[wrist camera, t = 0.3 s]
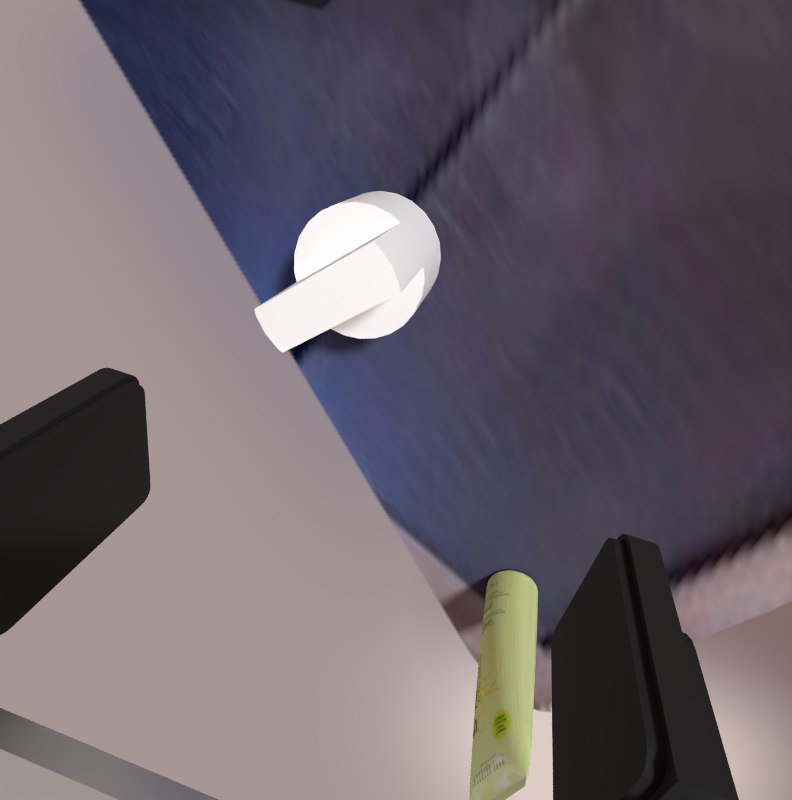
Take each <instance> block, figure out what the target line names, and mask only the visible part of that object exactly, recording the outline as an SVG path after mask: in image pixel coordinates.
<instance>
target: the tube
mask: <svg viewBox="0 0 792 800" xmlns="http://www.w3.org/2000/svg"><path fill="white" fill-rule="evenodd" d="M537 608H538V590H537V586H536V584H535V583H534V581H533V580H532V579H531V578H530V577H528V576H527V575H525V574H523V573H520V572H517V571H512V570H506V571H500V572H498V573H496V574H494V575H493V576H492V577H491V578H490V579H489V581H488V584H487V590H486V598H485V607H484V617H483V626H482V636H481V647H480V657H479V667H478V680H477V691H476V704H475V717H474V731H473V747H472V762H471V779H470V800H508V799H509V798H511V797H512V796H514V795H515V794H517V793H518V792H519V791H521V790H522V789H524V788H526V787H527V778H528V774H529V767H530V755H531V740H532V721H533V704H534V683H535V661H536V637H537Z"/></svg>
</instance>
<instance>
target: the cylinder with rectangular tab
mask: <svg viewBox="0 0 792 800" xmlns="http://www.w3.org/2000/svg"><path fill="white" fill-rule="evenodd" d="M440 260H441V254H440V242H439V239H438V236H437V234H436V231H435V228H434V226H433V224H432V223H431V221H430V220H429V218H428V217H427V215H426V214H425V212H424V211H423V210H422V209H420V208H419V207H418V206H417V205H416V204H415V203H414V202H412V201H411V200H409V199H407V198H405V197H403V196H401V195H399V194H396V193H390V192H384V191H377V192H368V193H364V194H361V195H359V196H356V197H354V198H351V199H348V200H346V201H343V202H340V203H338V204H335V205H333V206H331V207H329V208H326V209H324V210H322V211H320V212H319V213H318V214H317V215H316V216H315V217H314V218H312V219H311V220H310V221H309V222H308V223H307V225H306V227H305V228H304V230H303V231H302V233H301V235H300V236H299V239H298V243H297V246H296V250H295V254H294V273H295V277H296V283H294V284H293V285H291V286H290V287H288V288H287V289H285V290H283V291H282V292H280V293H279V294H277V295H276V296H274V297H272V298H271V299H269V300H268V301H266V302H265V303H263V304H261V305H260V306H258V307H257V308H255V309H254V310H255V314H256V317H257V319H258V321H259V323H260V325H261V326H262V329H263V331H264V332H265V334H266V335H267V336H268V338H269V339H270V340H271V341H272V343H273V344H274V345H275V346H276V348H277V349H278V350H280V351H281V352H282V353H283V352H285V351H287V350H289V349H291V348H293V347H295V346H297V345H299V344H301V343H303V342H305V341H307V340H309V339H311V338H313V337H315V336H317V335H319V334H321V333H323V332H325V331H327V330H329V329H332V330H334V331H336V332H338V333H340V334H342V335H345V336H349V337H354V338H358V339H370V338H378V337H381V336H385V335H388V334H391V333H392V332H394V331H396V330H397V329H399V328H400V327H402V326H403V325H404V324H405V323H406V322H407V321H408V320H409V319H410V317H411V316H412V315H413V314H414V313H415V311H416V310H417V308H418V307H419V306H420V304H421V303H422V301H423V300H424V298H425V297H426V295H427V294H428V292H429V291H430V290H431V288H432V286H433V284H434V282H435V280H436V278H437V275H438V272H439V266H440Z"/></svg>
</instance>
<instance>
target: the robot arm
mask: <svg viewBox="0 0 792 800" xmlns="http://www.w3.org/2000/svg"><path fill="white" fill-rule="evenodd" d="M149 491H150V471H149V456H148V439H147V423H146V407H145V392H144V389H143V387H142V386H140V385H139V381H138V380H137V378H136V377H134V376H132V375H130V374H126V373H123V372H120V371H117V370H114V369H111V368H103V369H100V370H98V371H97V372H95V373H93V374H91V375H89V376H87V377H86V378H84V379H82V380H80V381H78V382H77V383H75V384H73V385H71V386H69V387H67V388H66V389H64V390H62V391H60V392H58V393H57V394H55V395H53V396H51V397H49V398H48V399H46V400H44V401H42V402H40V403H38V404H37V405H35V406H33V407H31V408H29V409H28V410H26V411H24V412H22V413H20V414H19V415H17V416H15V417H13V418H11V419H10V420H8V421H6V422H4V423H2V424H0V635H1V634H3V633H5V632H6V631H8V630H9V629H10V628H11V627H12V626H14V624H16V622H18V621H19V620H20V619H21V618H22V617H23V616H24V615H25V614H26V613H27V612H28V611H29V610H30V609H31V608H33V607H34V606H35V605H36V604H37V603H38V602H39V601H40V600H41V599H42V598H43V597H44V596H45V595H46V594H47V593H48V592H50V591H51V590H52V589H53V588H54V587H55V586H56V585H57V584H58V583H59V582H60V581H61V580H62V579H63V578H64V577H65V576H66V575H68V574H69V573H70V572H71V571H72V570H73V569H74V568H75V567H76V566H77V565H78V564H79V563H80V562H81V561H82V560H83V559H85V558H86V557H87V556H88V555H89V554H90V553H91V552H92V551H93V550H94V549H95V548H96V547H97V546H98V545H99V544H100V543H102V542H103V540H105V539H106V538H107V537H108V536H109V535H110V534H111V533H112V532H113V531H114V530H115V529H116V528H117V527H118V526H120V524H122V523H123V522H124V521H125V520H126V519H127V518H128V517H129V516H130V515H131V514H132V513H133V512H134V511H135V510H136V509H138V508H139V507H140V506H141V505H142V504H143V503H144V501H145V500H146V498H147V497H148V494H149ZM551 660H552V737H553V800H739V799H738V796H737V792H736V789H735V785H734V782H733V778H732V775H731V771H730V768H729V764H728V761H727V757H726V754H725V750H724V747H723V744H722V740H721V737H720V733H719V730H718V726H717V723H716V719H715V716H714V712H713V709H712V705H711V702H710V698H709V695H708V691H707V688H706V685H705V681H704V677H703V674H702V670H701V667H700V664H699V660H698V657H697V653H696V650H695V647H694V645H693V642H692V640H691V639H690V637H689V636H688V635H687V634H686V633H683V632H682V630H681V626H680V622H679V619H678V615H677V611H676V608H675V604H674V600H673V597H672V593H671V589H670V586H669V582H668V578H667V574H666V571H665V567H664V563H663V560H662V556H661V552H660V549H659V547H658V546H657V545H656V544H655V543H651V542H648V541H645V540H642V539H639V538H636V537H633V536H630V535H627V534H622V535H621V536H619V537H618V539H617V540H616V539H613V538H609V539H607V541H606V542H605V543H604V545H603V547H602V549H601V550H600V552H599V554H598V556H597V557H596V559H595V561H594V563H593V564H592V566H591V568H590V570H589V571H588V573H587V575H586V577H585V578H584V580H583V582H582V584H581V585H580V587H579V589H578V591H577V592H576V594H575V596H574V598H573V599H572V601H571V603H570V605H569V606H568V608H567V610H566V611H565V613H564V615H563V617H562V618H561V620H560V622H559V624H558V625H557V627H556V629H555V632H554V635H553V639H552V647H551ZM0 800H218V799H215V798H213V797H211V796H208V795H206V794H204V793H201V792H199V791H196V790H194V789H192V788H189V787H187V786H185V785H182V784H180V783H178V782H175V781H172V780H171V779H168V778H166V777H163V776H161V775H159V774H156V773H154V772H152V771H149V770H147V769H144V768H142V767H140V766H137V765H135V764H133V763H130V762H128V761H125V760H123V759H120V758H118V757H116V756H114V755H111V754H109V753H107V752H104V751H102V750H99V749H97V748H95V747H92V746H90V745H87V744H85V743H83V742H80V741H78V740H76V739H73V738H71V737H68V736H66V735H64V734H61V733H59V732H56V731H54V730H52V729H49V728H47V727H45V726H42V725H40V724H37V723H35V722H33V721H30V720H28V719H25V718H23V717H21V716H18V715H16V714H13V713H11V712H8V711H6V710H3V709H1V708H0Z"/></svg>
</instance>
